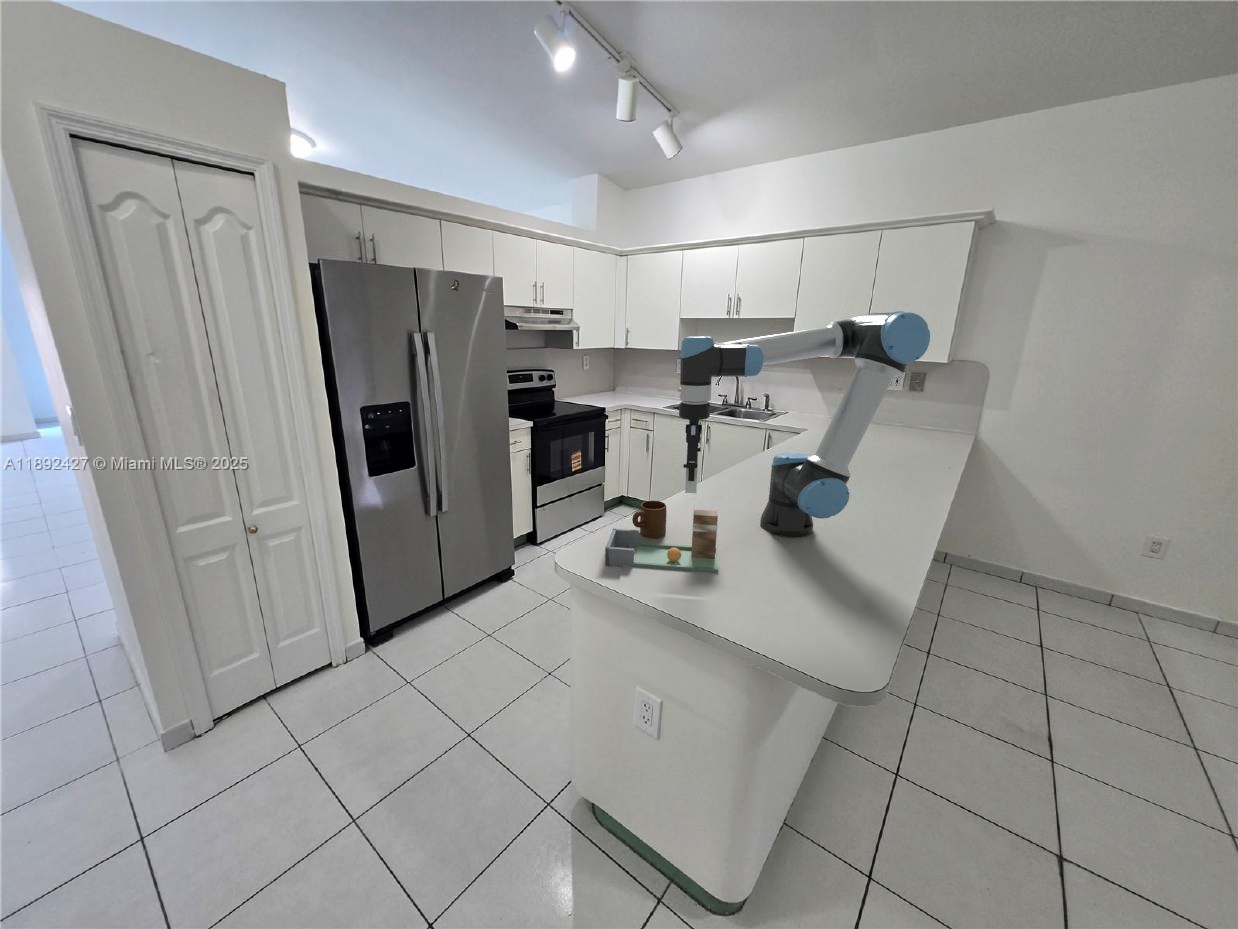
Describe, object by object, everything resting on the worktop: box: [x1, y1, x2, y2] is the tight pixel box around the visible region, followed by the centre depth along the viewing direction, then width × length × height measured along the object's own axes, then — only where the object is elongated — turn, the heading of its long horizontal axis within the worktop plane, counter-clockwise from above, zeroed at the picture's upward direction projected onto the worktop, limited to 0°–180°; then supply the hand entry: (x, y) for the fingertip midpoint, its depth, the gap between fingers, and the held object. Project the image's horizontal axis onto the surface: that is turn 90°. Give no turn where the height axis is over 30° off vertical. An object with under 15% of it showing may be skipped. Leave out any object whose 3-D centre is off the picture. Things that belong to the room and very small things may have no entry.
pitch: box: [604, 528, 719, 574], centre depth 121 cm, size 28×12×5 cm, turn 81°
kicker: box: [691, 509, 719, 559], centre depth 121 cm, size 6×4×12 cm, turn 81°
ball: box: [667, 548, 681, 562], centre depth 119 cm, size 4×4×4 cm
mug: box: [631, 500, 668, 539], centre depth 133 cm, size 12×8×9 cm, turn 133°
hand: (691, 483), depth 119 cm, fingers open, 13 cm apart
